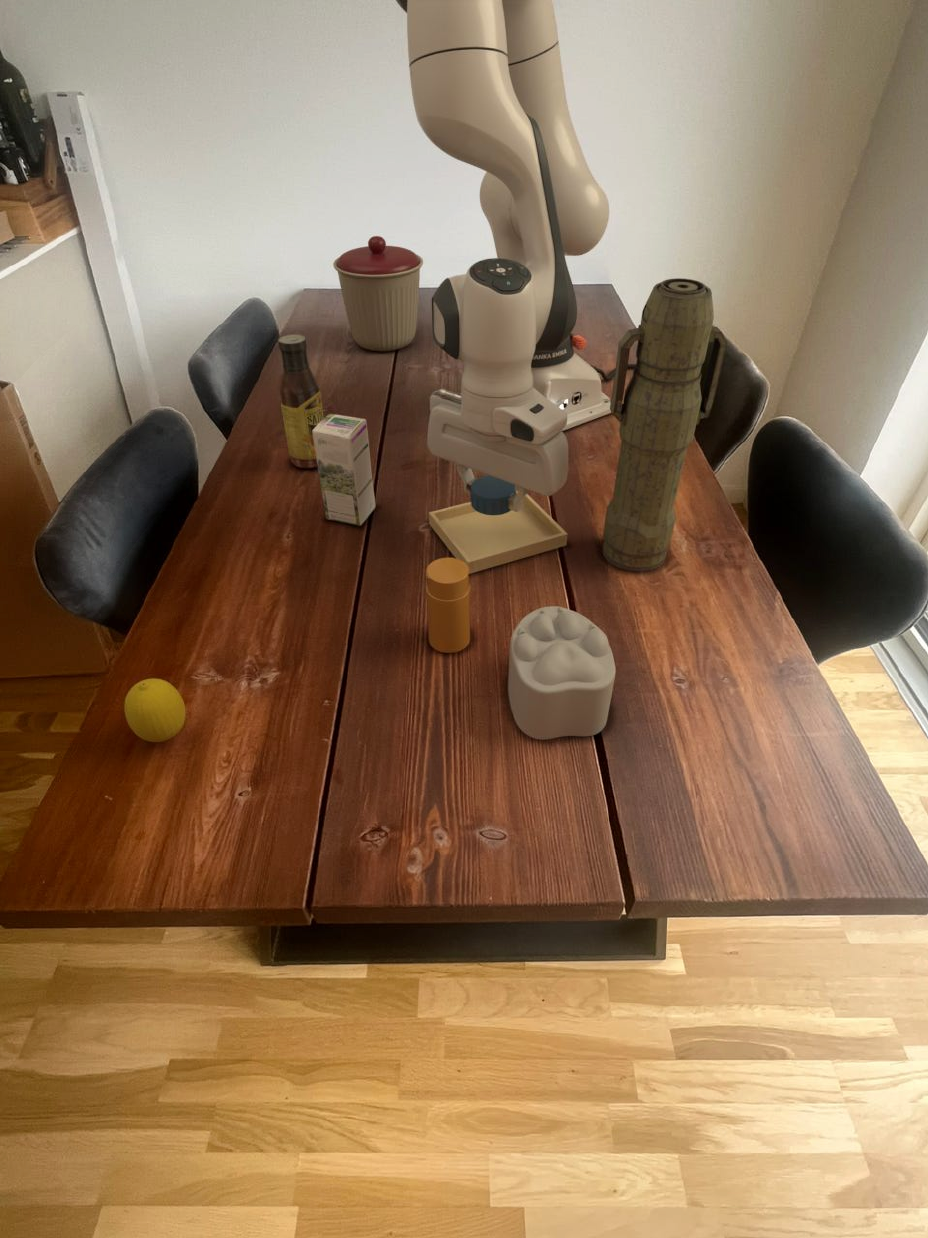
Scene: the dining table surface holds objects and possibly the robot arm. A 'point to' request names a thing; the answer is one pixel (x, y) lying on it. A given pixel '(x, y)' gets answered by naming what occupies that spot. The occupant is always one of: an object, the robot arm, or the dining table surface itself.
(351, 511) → the syrup box
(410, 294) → the canister
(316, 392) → the sauce bottle
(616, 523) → the thermos
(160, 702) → the lemon
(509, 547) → the tray
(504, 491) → the lid
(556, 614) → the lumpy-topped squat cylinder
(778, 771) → the dining table surface
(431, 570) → the jar
